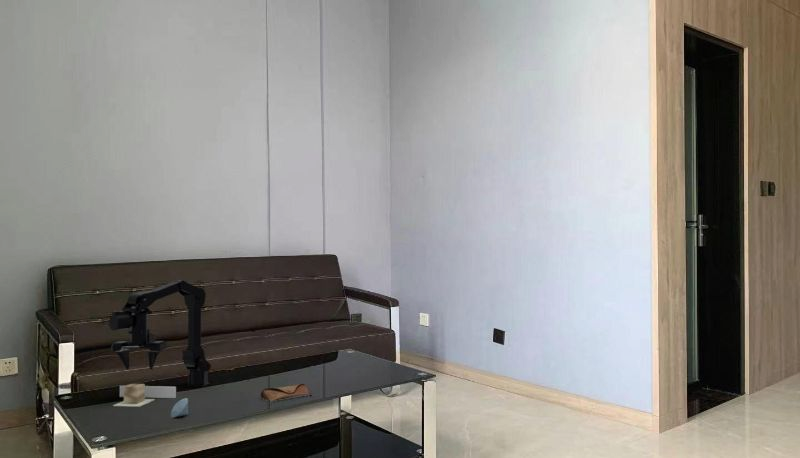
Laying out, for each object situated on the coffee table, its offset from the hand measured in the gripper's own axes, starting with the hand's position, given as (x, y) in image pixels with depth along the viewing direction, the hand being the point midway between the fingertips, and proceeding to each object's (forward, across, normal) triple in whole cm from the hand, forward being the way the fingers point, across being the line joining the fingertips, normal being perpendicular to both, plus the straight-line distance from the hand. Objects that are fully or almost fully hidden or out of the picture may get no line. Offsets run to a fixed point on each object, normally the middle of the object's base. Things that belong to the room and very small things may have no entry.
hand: (139, 369), depth 229 cm
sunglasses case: (+12, -54, -7) cm, 56 cm away
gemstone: (+11, -26, +22) cm, 36 cm away
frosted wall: (+11, -2, -3) cm, 11 cm away
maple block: (+10, -1, +6) cm, 12 cm away
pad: (+11, -1, +6) cm, 13 cm away
